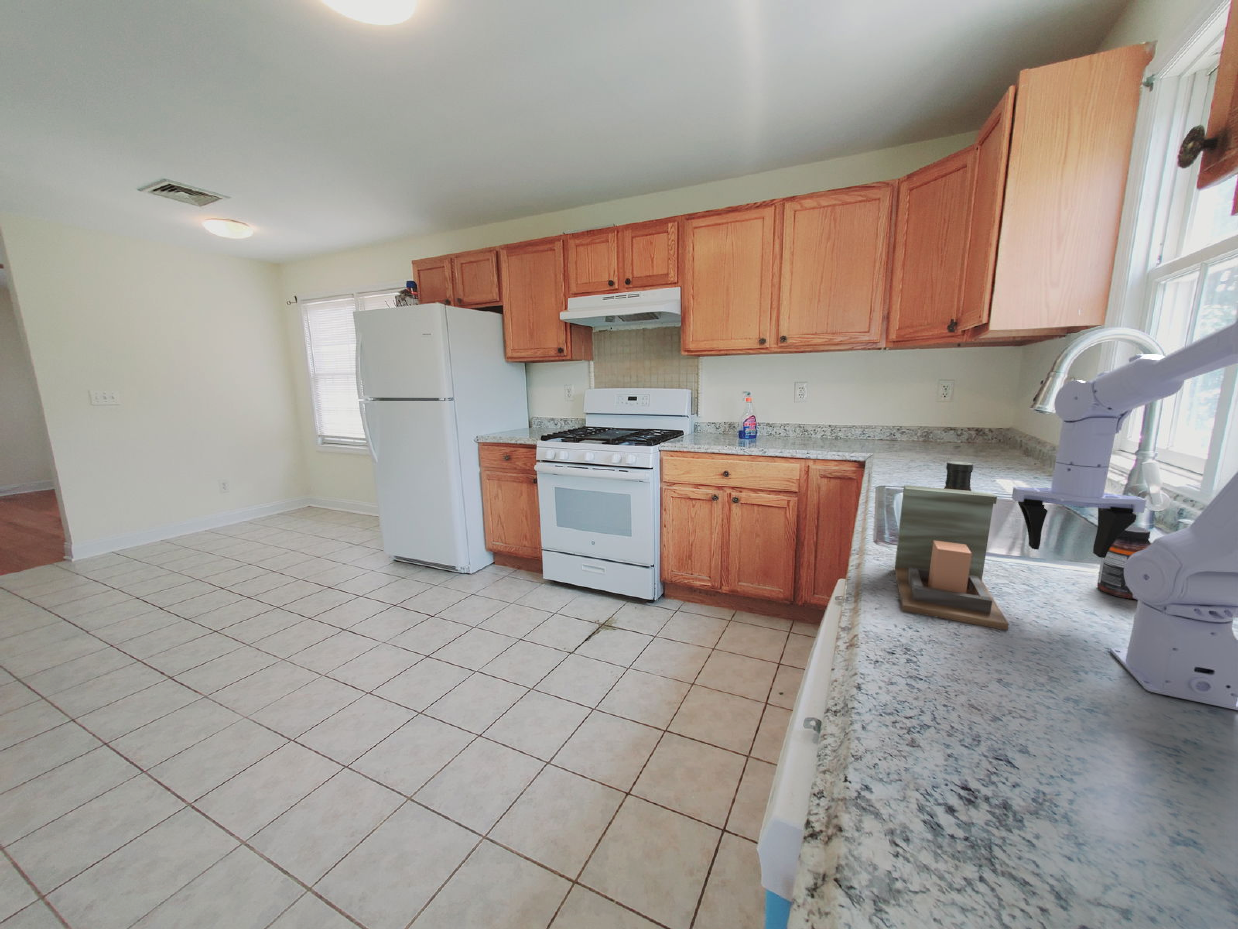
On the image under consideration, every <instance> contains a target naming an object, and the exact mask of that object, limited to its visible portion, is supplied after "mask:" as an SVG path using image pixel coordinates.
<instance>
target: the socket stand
mask: <svg viewBox="0 0 1238 929" xmlns="http://www.w3.org/2000/svg"><path fill="white" fill-rule="evenodd" d="M997 500H998V496H997V495H996V494H995V493H993V492H984V491H975V490H973V491H972V490H971V491H965V490H954V489H944V488H942V487H941V488H939V487H930V486H928V487H927V486H919V485H907V484H904V485H903V490H902V500H901V509H900V517H899V526H898V534H897V535H898V536H897V543H896V551H895V561H894V568H895V570H894V573H896V575H895V579H896V578H897V580H896V584H898V585H897V590H898V589H899V590H898V595H899V594H900V595H899V601H900V600H901V601H900V605H902V606H901V610H903V611H902V612H906V611H907V612H908V613H912V614H917V613H918V614H917V615H923V614H924V615H923V616H929V617H933V616H937V617H936V618H937V619H938V618H939V617H940V618H941V619H945V620H949V619H950V620H951V621H955V622H960V623H966V624H971V625H976V626H982V627H988V628H992V629H999V630H1002V631H1003V630H1004V631H1008V630H1009V625H1010V624H1009V622H1008V620H1007V618H1006V617H1005V615H1004V613H1003V612H1002V611H1001V608H1000V607H999V606H998V604H997V602H996V600H994V597H993V596H992V594H991V593H990V591H989V589H988V588H987V586H986V584H985V583H984V581H983V575H984V569H985V561H986V556H987V550H988V549H987V548H988V543H989V542H988V541H989V535H990V529H991V522H992V516H993V508H994V505H996V504H997ZM934 540H935V541H943V542H951V543H959V544H966V545H967V547H968V548H969V550H970V551H971V553H972V555H971V562H970V569H969V576H968V583H967V590H966V594H965V593H959V592H953V591H947V590H941V589H935V588H929V587H928V580H929V572H930V564H931V556H932V549H933V541H934Z"/></svg>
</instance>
